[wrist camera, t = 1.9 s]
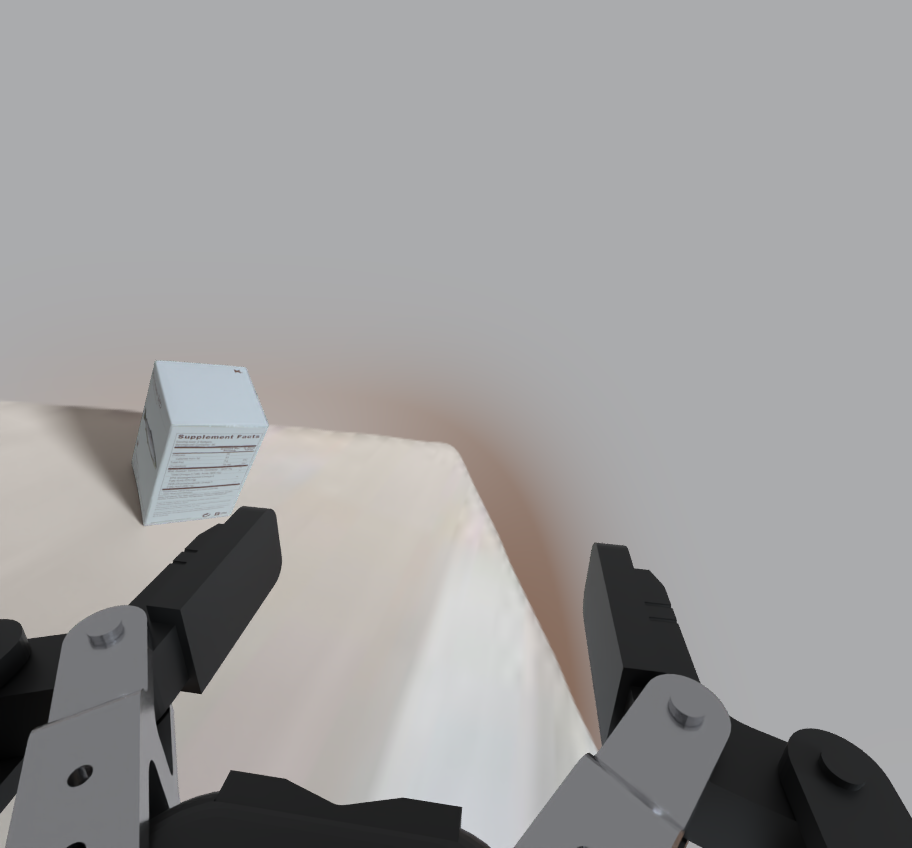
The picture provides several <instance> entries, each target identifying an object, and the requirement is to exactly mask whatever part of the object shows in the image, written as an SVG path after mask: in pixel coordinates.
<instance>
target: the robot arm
mask: <svg viewBox="0 0 912 848" xmlns="http://www.w3.org/2000/svg"><path fill="white" fill-rule="evenodd" d="M281 565H282V556H281V548H280V541H279V533H278V526H277V519H276V514H275V512H274V510H272V509H267V508H257V507H247V506H242V507H240V508H239V509H238V510H237V511H236V512H235V513H234V514H233V515H232V516H231V517H230V518H229V519H228V520H227V521H226V522H225V523H224V524H217V525H215V526H214V527H212V528H210V529H208V530H207V531H205V532H203V533H201V534H200V535H198V536H197V537H196V538H195V539H194V540H193V541H192V542H191V543H190V544H189V545H188V546H187V547H186V548H185V551H184V552H181V553H180V554H179V555H178V556H177V557H176V558H175V559H174V560H173V563H172V564H169V565H168V566H167V567H166V568H165V569H164V570H163V571H162V572H161V573H160V574H159V575H158V576H157V577H156V578H155V579H154V580H153V581H152V582H151V583H150V584H149V585H148V586H147V587H146V588H145V589H144V590H143V591H142V592H141V593H140V594H139V595H138V596H137V597H136V598H135V599H134V600H133V601H132V602H131V603H130V604H129V605H122V606H115V607H111V608H107V609H104V610H101V611H99V612H96V613H94V614H92V615H90V616H88V617H87V618H85V619H84V620H82V621H81V622H79V623H78V624H77V625H75V626H74V627H73V628H72V629H71V630H70V631H69V633H68V634H61V635H54V636H46V637H39V638H31V639H27V637H26V635H25V633H24V630H23V628H22V626H21V624H20V623H18V622H17V621H14V620H9V619H0V813H1V812H2V811H3V810H4V808H5V807H6V806H7V805H8V803H9V802H10V801H11V800H12V799H13V797H14V796H15V795H16V799H15V804H14V808H13V813H12V818H11V822H10V827H9V832H8V837H7V841H6V846H5V848H490V847H489V846H488V845H487V844H486V843H485V842H483V841H482V840H480V839H479V838H477V837H476V836H474V835H473V834H471V833H469V832H467V831H465V830H463V829H461V815H462V807H458V806H452V805H445V804H439V803H433V802H427V801H421V800H414V799H408V798H397V799H389V800H381V801H373V802H365V803H358V804H350V805H336V804H333V803H331V802H329V801H327V800H325V799H323V798H321V797H320V796H318V795H316V794H314V793H312V792H310V791H308V790H306V789H304V788H302V787H300V786H298V785H296V784H294V783H292V782H291V781H289V780H287V779H283V778H277V777H271V776H264V775H258V774H252V773H246V772H239V771H233V770H231V771H230V773H229V775H228V776H227V778H226V780H225V782H224V784H223V786H222V788H221V790H220V791H218V792H212V793H208V794H204V795H201V796H197V797H195V798H192V799H189V800H187V801H184V802H182V803H181V802H180V796H179V787H178V771H177V755H176V738H175V722H174V710H173V706H172V702H173V701H174V699H175V698H176V696H177V695H178V694H179V692H180V691H183V692H190V693H197V694H202V692H203V691H204V689H205V688H206V686H207V685H208V683H209V682H210V680H211V679H212V677H213V676H214V674H215V673H216V671H217V670H218V668H219V667H220V666H221V664H222V663H223V661H224V660H225V658H226V657H227V655H228V654H229V652H230V651H231V649H232V648H233V646H234V645H235V643H236V642H237V640H238V639H239V637H240V636H241V634H242V633H243V631H244V630H245V628H246V627H247V625H248V624H249V622H250V621H251V619H252V618H253V616H254V615H255V613H256V612H257V610H258V609H259V607H260V606H261V604H262V603H263V601H264V600H265V598H266V597H267V595H268V594H269V592H270V591H271V589H272V588H273V586H274V585H275V583H276V582H277V580H278V577H279V574H280V571H281ZM583 617H584V624H585V632H586V639H587V646H588V653H589V659H590V666H591V673H592V680H593V687H594V694H595V700H596V707H597V715H598V721H599V728H600V735H601V741H602V747H601V749H600V750H599V751H598V753H597V754H596V755H594V756H593V755H592V754H590V753H587V754H585V755H584V756H583V757H582V758H581V759H580V760H579V761H578V763H577V764H576V765H575V766H574V768H573V769H572V770H571V772H570V773H569V774H568V776H567V777H566V778H565V780H564V781H563V782H562V784H561V785H560V786H559V788H558V789H557V790H556V792H555V793H554V794H553V796H552V797H551V798H550V800H549V801H548V802H547V804H546V805H545V806H544V808H543V809H542V810H541V812H540V813H539V815H538V816H537V817H536V819H535V820H534V821H533V823H532V824H531V825H530V827H529V828H528V829H527V831H526V832H525V833H524V835H523V836H522V837H521V839H520V840H519V841H518V843H517V844H516V845H515V847H514V848H686V846H687V844H688V842H689V841H691V842H692V843H695V844H697V845H698V846H700V847H702V848H912V818H911V816H910V814H909V813H908V811H907V809H906V808H905V806H904V804H903V802H902V801H901V799H900V797H899V796H898V794H897V792H896V791H895V789H894V787H893V785H892V784H891V782H890V780H889V779H888V777H887V776H886V774H885V773H884V772H883V770H882V769H881V768H880V767H879V766H878V765H877V763H876V762H875V761H874V760H872V758H870V757H869V756H868V755H867V754H866V753H865V752H863V751H862V750H861V749H859V748H858V747H857V746H855V745H854V744H852V743H850V742H849V741H847V740H846V739H844V738H842V737H839V736H837V735H835V734H833V733H830V732H827V731H823V730H819V729H802V730H799V731H797V732H795V733H793V735H792V736H791V737H790V739H789V741H788V742H786V741H783V740H781V739H778V738H776V737H773V736H771V735H768V734H766V733H764V732H761V731H758V730H756V729H754V728H751V727H749V726H747V725H744V724H742V723H740V722H739V721H737V720H735V719H733V718H732V717H730V716H729V715H728V712H727V710H726V709H725V707H724V705H723V704H722V702H721V701H720V700H719V699H718V697H717V696H716V695H715V694H714V693H713V692H711V691H710V690H709V689H708V688H706V687H705V686H703V685H702V684H701V683H700V681H699V678H698V676H697V673H696V670H695V668H694V665H693V662H692V660H691V657H690V654H689V652H688V649H687V647H686V644H685V641H684V638H683V636H682V633H681V630H680V627H679V625H678V624H677V620H676V617H675V614H674V611H673V609H672V608H671V603H670V601H669V598H668V595H667V592H666V590H665V587H664V586H663V585H662V584H661V582H659V580H658V579H657V578H656V577H655V576H654V575H653V574H652V573H651V572H650V571H649V570H643V569H634V567H633V564H632V560H631V557H630V554H629V551H628V548H627V547H626V546H623V545H613V544H603V543H594V544H593V546H592V550H591V556H590V562H589V568H588V573H587V579H586V585H585V591H584V599H583Z"/></svg>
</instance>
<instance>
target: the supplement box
mask: <svg viewBox="0 0 912 848" xmlns="http://www.w3.org/2000/svg"><path fill="white" fill-rule="evenodd" d="M268 427H269V424H268V421H267V419H266V416H265V414H264V411H263V409H262V406H261V404H260V401H259V399H258V396H257V393H256V391H255V389H254V386H253V384H252V381H251V379H250V376H249V374H248V371H247V369H246V368H245V367H238V366H228V365H215V364H201V363H187V362H176V361H175V362H174V361H155V363H154V368H153V372H152V376H151V380H150V385H149V389H148V394H147V398H146V402H145V406H144V411H143V415H142V419H141V423H140V427H139V432H138V436H137V440H136V444H135V449H134V453H133V458H132V467H133V470H134V474H135V478H136V483H137V488H138V493H139V499H140V505H141V511H142V519H143V525H157V524H165V523H174V522H182V521H191V520H200V519H208V518H216V517H224V516H229V515H231V513H232V510H233V508H234V506H235V503H236V501H237V499H238V496H239V494H240V491H241V489H242V487H243V485H244V482H245V480H246V478H247V475H248V473H249V471H250V468H251V466H252V464H253V461H254V459H255V457H256V455H257V452H258V450H259V448H260V445H261V443H262V441H263V438H264V436H265V434H266V431H267V429H268Z"/></svg>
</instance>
